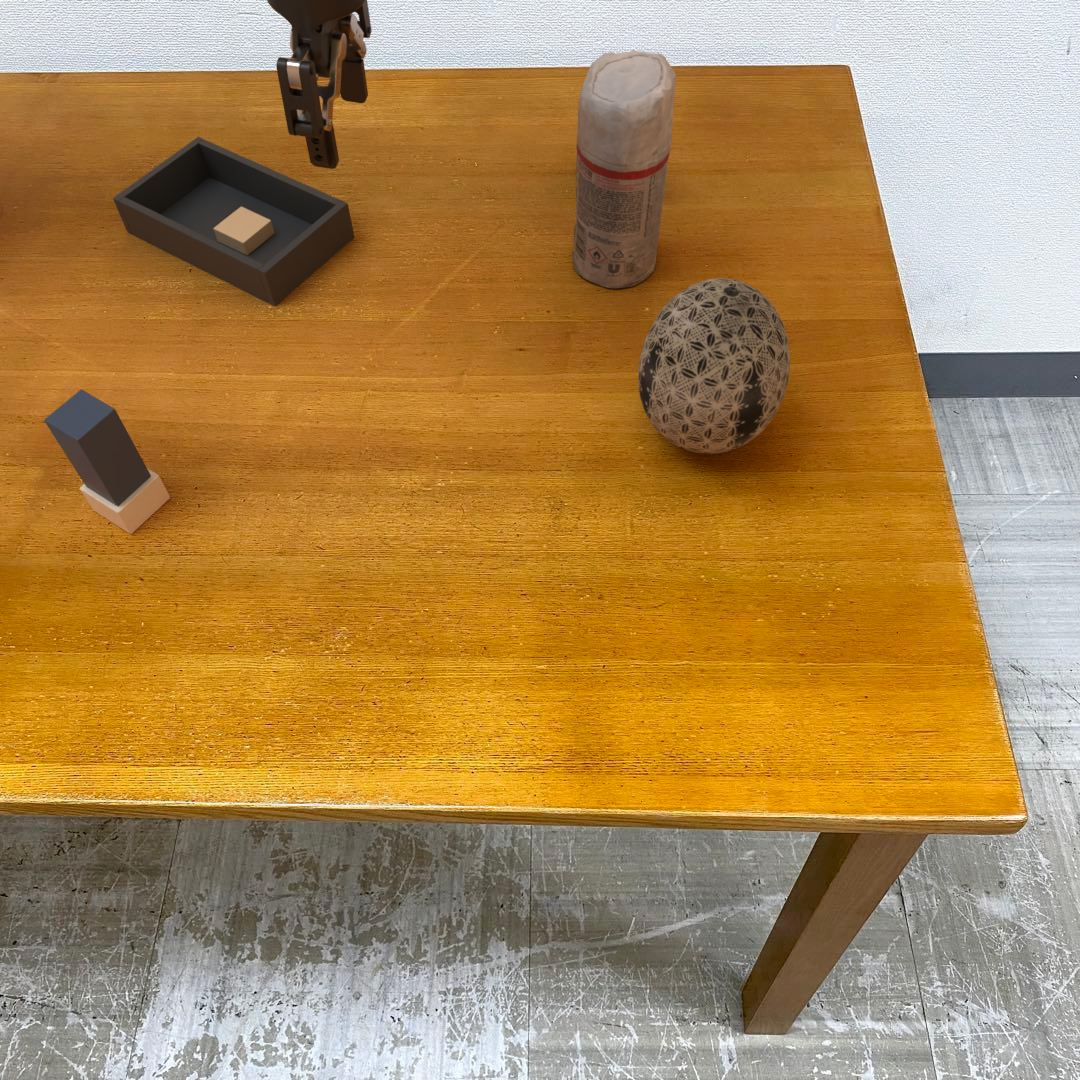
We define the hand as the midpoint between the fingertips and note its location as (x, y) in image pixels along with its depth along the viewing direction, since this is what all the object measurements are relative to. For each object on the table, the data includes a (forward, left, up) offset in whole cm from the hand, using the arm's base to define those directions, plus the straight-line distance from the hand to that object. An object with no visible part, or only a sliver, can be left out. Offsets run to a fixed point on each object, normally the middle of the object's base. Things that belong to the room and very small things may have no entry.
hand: (340, 131), depth 84 cm
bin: (-14, -2, -16) cm, 21 cm away
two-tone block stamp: (+1, -31, -16) cm, 35 cm away
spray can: (+19, +15, -16) cm, 28 cm away
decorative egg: (+36, +1, -16) cm, 39 cm away
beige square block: (-13, -2, -15) cm, 20 cm away
